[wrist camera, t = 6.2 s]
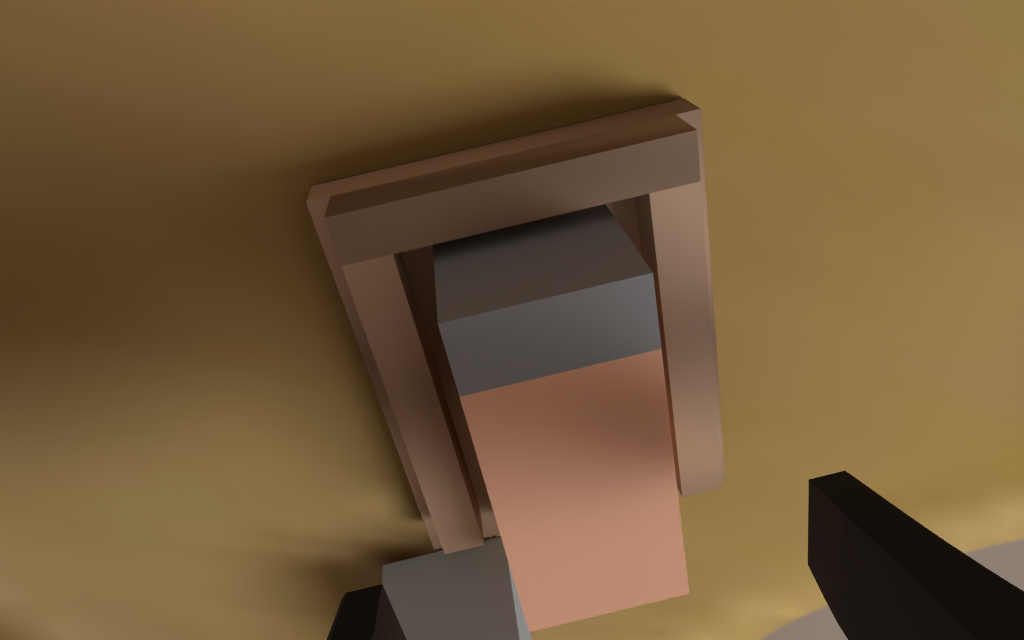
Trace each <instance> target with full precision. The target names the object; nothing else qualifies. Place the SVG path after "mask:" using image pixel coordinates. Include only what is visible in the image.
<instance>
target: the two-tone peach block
mask: <svg viewBox="0 0 1024 640" xmlns="http://www.w3.org/2000/svg"><path fill="white" fill-rule="evenodd" d="M433 253H434V270H435V286H436V303H437V319H438V326H439V330H440V333H441V336H442V340H443V343H444V346H445V350H446V353H447V357H448V360H449V363H450V367H451V370H452V373H453V377H454V380H455V384H456V387H457V390H458V394H459V397H460V400H461V404H462V407H463V411H464V414H465V417H466V421H467V424H468V427H469V431H470V434H471V438H472V441H473V444H474V448H475V451H476V454H477V458H478V461H479V465H480V468H481V471H482V475H483V478H484V481H485V485H486V488H487V492H488V495H489V498H490V502H491V505H492V508H493V512H494V515H495V519H496V522H497V525H498V529H499V532H500V535H501V539H502V542H503V546H504V549H505V552H506V556H507V559H508V562H509V566H510V569H511V573H512V576H513V579H514V583H515V586H516V589H517V593H518V596H519V600H520V603H521V606H522V610H523V613H524V616H525V620H526V623H527V627H528V630H529V632H532V631H536V630H540V629H544V628H549V627H553V626H557V625H561V624H565V623H569V622H573V621H578V620H582V619H586V618H590V617H594V616H598V615H602V614H607V613H611V612H615V611H619V610H623V609H627V608H632V607H636V606H640V605H644V604H648V603H652V602H656V601H661V600H665V599H669V598H673V597H677V596H681V595H685V594H689V588H688V579H687V571H686V562H685V553H684V544H683V535H682V526H681V517H680V508H679V499H678V491H677V482H676V473H675V464H674V455H673V446H672V437H671V428H670V420H669V411H668V402H667V393H666V384H665V375H664V366H663V357H662V348H661V340H660V331H659V322H658V313H657V304H656V295H655V286H654V277H653V272H652V271H651V269H650V268H649V266H648V265H647V263H646V262H645V260H644V259H643V258H642V256H641V255H640V253H639V252H638V250H637V249H636V247H635V246H634V245H633V243H632V242H631V240H630V239H629V237H628V236H627V234H626V233H625V232H624V230H623V229H622V227H621V226H620V224H619V223H618V221H617V220H616V219H615V217H614V216H613V214H612V213H611V211H610V210H609V208H608V207H607V206H606V204H603V205H599V206H594V207H590V208H586V209H582V210H578V211H573V212H569V213H565V214H561V215H556V216H552V217H548V218H544V219H540V220H535V221H531V222H527V223H523V224H518V225H514V226H510V227H506V228H502V229H497V230H493V231H489V232H485V233H480V234H476V235H472V236H468V237H464V238H459V239H455V240H451V241H447V242H443V243H438V244H434V245H433Z"/></svg>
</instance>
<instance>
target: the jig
mask: <svg viewBox="0 0 1024 640" xmlns="http://www.w3.org/2000/svg"><path fill="white" fill-rule="evenodd" d="M306 204H307V207H308V210H309V212H310V215H311V218H312V220H313V223H314V226H315V229H316V231H317V234H318V237H319V239H320V242H321V245H322V247H323V250H324V253H325V256H326V258H327V261H328V264H329V266H330V269H331V272H332V275H333V277H334V280H335V283H336V285H337V288H338V291H339V294H340V296H341V299H342V302H343V304H344V307H345V310H346V313H347V315H348V318H349V321H350V323H351V326H352V329H353V332H354V334H355V337H356V340H357V342H358V345H359V348H360V350H361V353H362V356H363V359H364V361H365V364H366V367H367V369H368V372H369V375H370V378H371V380H372V383H373V386H374V388H375V391H376V394H377V397H378V399H379V402H380V405H381V407H382V410H383V413H384V416H385V418H386V421H387V424H388V426H389V429H390V432H391V435H392V437H393V440H394V443H395V445H396V448H397V451H398V454H399V456H400V459H401V462H402V464H403V467H404V470H405V472H406V475H407V478H408V481H409V483H410V486H411V489H412V491H413V494H414V497H415V500H416V502H417V505H418V508H419V510H420V513H421V516H422V519H423V521H424V524H425V527H426V529H427V532H428V535H429V538H430V540H431V543H432V546H433V548H434V550H435V549H439V548H443V551H444V554H449V553H453V552H457V551H461V550H465V549H469V548H474V547H478V546H482V545H484V538H485V537H489V536H493V535H497V534H500V532H499V529H498V525H497V522H496V519H495V515H494V512H493V508H492V505H491V502H490V498H489V495H488V492H487V488H486V485H485V481H484V478H483V475H482V471H481V468H480V465H479V461H478V458H477V454H476V451H475V448H474V444H473V441H472V438H471V434H470V431H469V427H468V424H467V421H466V417H465V414H464V411H463V407H462V404H461V400H460V397H459V394H458V390H457V387H456V384H455V380H454V377H453V373H452V370H451V367H450V363H449V360H448V357H447V353H446V350H445V346H444V343H443V340H442V336H441V333H440V330H439V326H438V319H437V303H436V286H435V270H434V253H433V245H434V244H438V243H443V242H447V241H451V240H455V239H459V238H464V237H468V236H472V235H476V234H480V233H485V232H489V231H493V230H497V229H502V228H506V227H510V226H514V225H518V224H523V223H527V222H531V221H535V220H540V219H544V218H548V217H552V216H556V215H561V214H565V213H569V212H573V211H578V210H582V209H586V208H590V207H594V206H599V205H603V204H606V206H607V207H608V208H609V210H610V211H611V213H612V214H613V216H614V217H615V219H616V220H617V221H618V223H619V224H620V226H621V227H622V229H623V230H624V232H625V233H626V234H627V236H628V237H629V239H630V240H631V242H632V243H633V245H634V246H635V247H636V249H637V250H638V252H639V253H640V255H641V256H642V258H643V259H644V260H645V262H646V263H647V265H648V266H649V268H650V269H651V271H652V272H653V277H654V286H655V295H656V304H657V313H658V322H659V331H660V340H661V348H662V357H663V366H664V375H665V384H666V393H667V402H668V411H669V420H670V428H671V437H672V446H673V455H674V464H675V473H676V482H677V491H680V493H681V495H682V497H686V496H690V495H694V494H699V493H703V492H707V491H711V490H715V489H719V488H722V482H721V481H722V480H725V472H724V457H723V442H722V427H721V412H720V397H719V381H718V366H717V351H716V336H715V321H714V306H713V291H712V275H711V260H710V245H709V230H708V215H707V200H706V185H705V169H704V154H703V139H702V124H701V109H700V108H698V107H697V106H695V105H694V104H692V103H691V102H689V101H687V100H686V99H684V98H682V99H678V100H674V101H670V102H666V103H661V104H657V105H653V106H649V107H644V108H640V109H636V110H632V111H627V112H623V113H619V114H615V115H610V116H606V117H602V118H598V119H594V120H589V121H585V122H581V123H577V124H572V125H568V126H564V127H560V128H555V129H551V130H547V131H543V132H539V133H534V134H530V135H526V136H522V137H517V138H513V139H509V140H505V141H500V142H496V143H492V144H488V145H483V146H479V147H475V148H471V149H467V150H462V151H458V152H454V153H450V154H445V155H441V156H437V157H433V158H428V159H424V160H420V161H416V162H412V163H407V164H403V165H399V166H395V167H390V168H386V169H382V170H378V171H373V172H369V173H365V174H361V175H356V176H352V177H348V178H344V179H340V180H335V181H331V182H327V183H323V184H318V185H314V186H312V187H311V190H310V193H309V195H308V198H307V200H306Z"/></svg>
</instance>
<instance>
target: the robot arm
mask: <svg viewBox="0 0 1024 640" xmlns="http://www.w3.org/2000/svg"><path fill="white" fill-rule="evenodd" d="M808 565H809V568H810V570H811V572H812V574H813V576H814V578H815V580H816V582H817V584H818V586H819V588H820V590H821V592H822V594H823V596H824V598H825V600H826V602H827V604H828V605H829V607H830V609H831V611H832V613H833V615H834V617H835V619H836V621H837V623H838V624H839V626H840V627H841V629H842V630H843V632H844V634H845V635H846V637H847V638H848V640H1024V591H1022V590H1021V589H1019V588H1017V587H1016V586H1014V585H1012V584H1011V583H1009V582H1008V581H1006V580H1004V579H1003V578H1001V577H1000V576H998V575H997V574H995V573H993V572H992V571H990V570H989V569H987V568H985V567H984V566H982V565H981V564H979V563H978V562H976V561H975V560H973V559H972V558H970V557H969V556H967V555H966V554H964V553H963V552H961V551H960V550H958V549H957V548H955V547H954V546H952V545H951V544H949V543H947V542H946V541H944V540H943V539H942V538H940V537H939V536H937V535H936V534H934V533H933V532H931V531H930V530H928V529H927V528H925V527H924V526H923V525H921V524H920V523H918V522H917V521H915V520H914V519H913V518H911V517H910V516H908V515H907V514H905V513H904V512H903V511H901V510H900V509H898V508H897V507H896V506H894V505H893V504H891V503H890V502H888V501H887V500H886V499H884V498H883V497H881V496H880V495H879V494H877V493H876V492H874V491H873V490H872V489H870V488H869V487H867V486H866V485H865V484H863V483H862V482H860V481H859V480H858V479H856V478H855V477H853V476H852V475H850V474H849V473H847V472H846V471H842V472H838V473H834V474H830V475H826V476H822V477H818V478H814V479H809V514H808ZM327 640H407V639H406V637H405V635H404V633H403V630H402V628H401V626H400V623H399V621H398V619H397V616H396V614H395V612H394V610H393V607H392V605H391V603H390V600H389V598H388V596H387V593H386V591H385V589H384V587H383V584H381V585H377V586H373V587H369V588H364V589H360V590H356V591H352V592H348V593H346V594H345V595H344V597H343V598H342V600H341V603H340V605H339V608H338V611H337V614H336V616H335V619H334V622H333V625H332V627H331V630H330V633H329V635H328V638H327Z"/></svg>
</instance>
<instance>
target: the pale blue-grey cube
mask: <svg viewBox="0 0 1024 640" xmlns="http://www.w3.org/2000/svg"><path fill="white" fill-rule="evenodd" d="M382 584H383V587H384V589H385V591H386V593H387V596H388V598H389V600H390V603H391V605H392V607H393V610H394V612H395V614H396V616H397V619H398V621H399V623H400V626H401V628H402V630H403V633H404V635H405V637H406V639H407V640H532V638H531V632H529V630H528V627H527V623H526V620H525V616H524V613H523V610H522V606H521V603H520V600H519V596H518V593H517V589H516V586H515V583H514V579H513V576H512V573H511V569H510V566H509V562H508V559H507V556H506V552H505V549H504V546H503V542H502V539H501V537H497V538H493V539H489V540H485V541H484V545H482V546H478V547H474V548H469V549H465V550H461V551H457V552H453V553H449V554H444V551H439V552H435V553H431V554H427V555H422V556H418V557H414V558H410V559H406V560H402V561H398V562H393V563H389V564H385V565H383V569H382Z"/></svg>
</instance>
